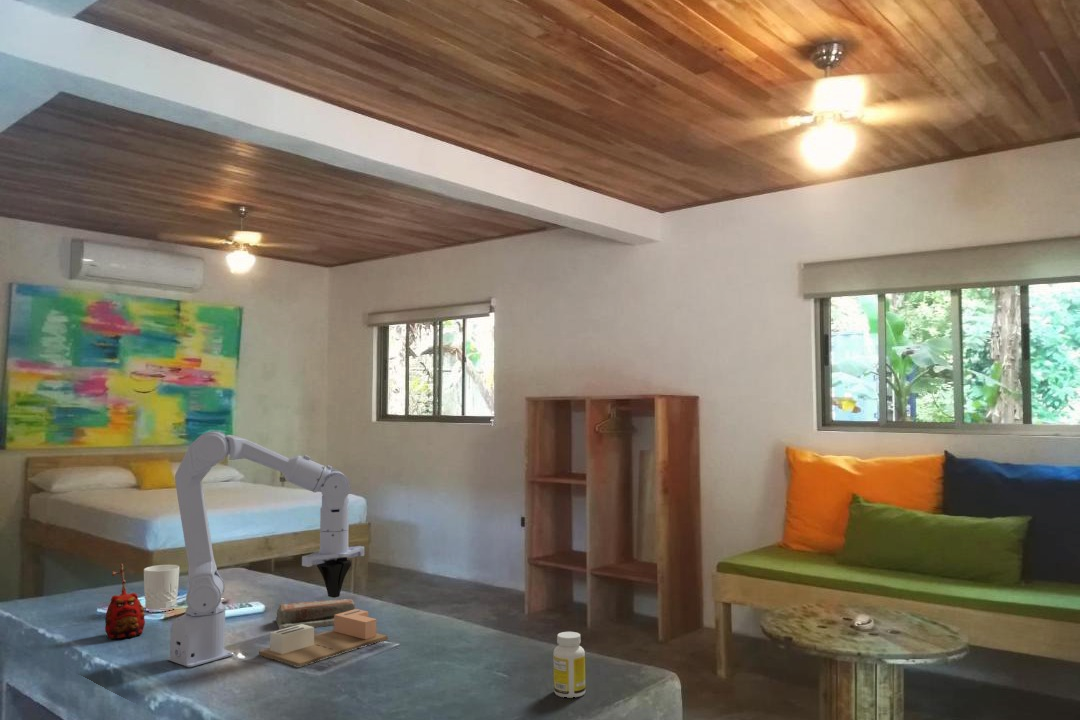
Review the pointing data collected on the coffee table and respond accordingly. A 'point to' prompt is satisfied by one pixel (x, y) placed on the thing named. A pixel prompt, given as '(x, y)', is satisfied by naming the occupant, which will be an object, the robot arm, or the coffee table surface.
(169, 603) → the white cup
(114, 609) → the red clay folk toy
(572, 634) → the supplement bottle
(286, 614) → the packaged product
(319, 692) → the coffee table surface
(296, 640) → the white toaster
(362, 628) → the block
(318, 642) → the board
